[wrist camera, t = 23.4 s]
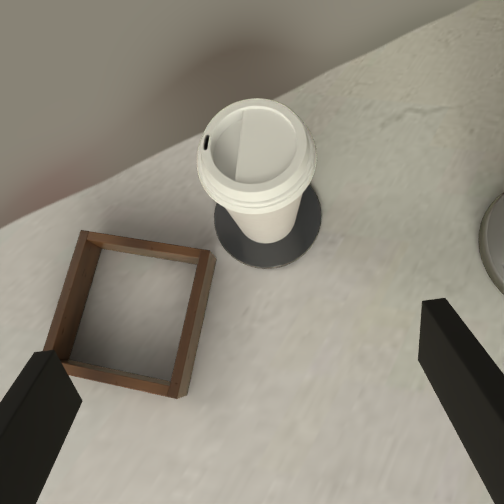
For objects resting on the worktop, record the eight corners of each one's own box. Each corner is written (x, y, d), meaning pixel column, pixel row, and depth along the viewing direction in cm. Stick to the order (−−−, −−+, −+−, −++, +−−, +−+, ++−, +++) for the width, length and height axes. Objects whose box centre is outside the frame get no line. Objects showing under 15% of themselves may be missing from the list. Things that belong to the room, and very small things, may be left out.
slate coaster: (327, 175, 44) (328, 173, 43) (312, 277, 41) (312, 275, 40) (226, 163, 46) (225, 160, 45) (205, 259, 43) (203, 258, 42)
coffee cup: (249, 164, 45) (228, 72, 30) (324, 196, 43) (340, 114, 28) (209, 234, 43) (166, 172, 29) (285, 271, 41) (281, 225, 26)
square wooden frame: (216, 258, 43) (210, 250, 39) (186, 395, 39) (177, 399, 36) (96, 239, 45) (80, 229, 41) (57, 367, 41) (37, 368, 38)
